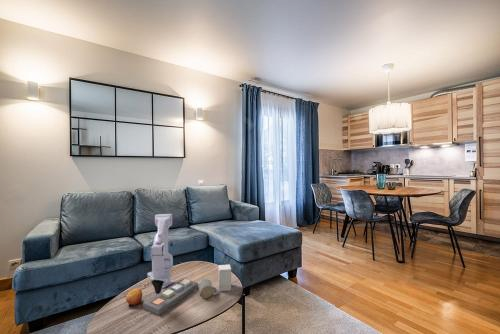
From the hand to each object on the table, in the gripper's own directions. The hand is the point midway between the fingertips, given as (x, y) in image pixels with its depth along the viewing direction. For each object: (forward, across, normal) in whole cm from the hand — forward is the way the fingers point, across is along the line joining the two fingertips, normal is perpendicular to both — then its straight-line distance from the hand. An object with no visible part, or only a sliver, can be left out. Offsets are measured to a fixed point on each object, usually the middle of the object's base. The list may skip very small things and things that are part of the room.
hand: (158, 292), depth 121 cm
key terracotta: (+6, 0, 0) cm, 6 cm away
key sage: (+5, 0, +6) cm, 8 cm away
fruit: (+8, -14, -4) cm, 17 cm away
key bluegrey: (+5, 0, +13) cm, 14 cm away
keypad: (+7, 0, +10) cm, 12 cm away
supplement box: (+8, +20, +32) cm, 38 cm away
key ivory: (+5, 0, +19) cm, 20 cm away
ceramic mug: (+8, +16, +22) cm, 28 cm away
